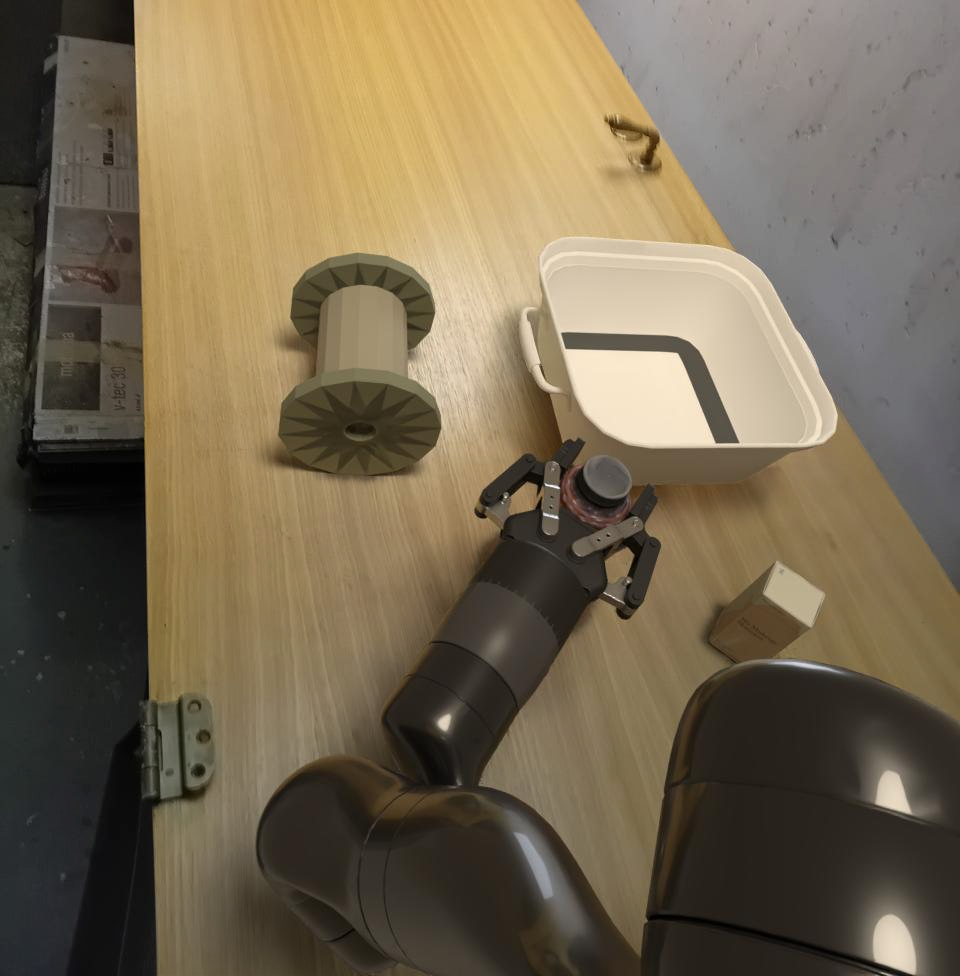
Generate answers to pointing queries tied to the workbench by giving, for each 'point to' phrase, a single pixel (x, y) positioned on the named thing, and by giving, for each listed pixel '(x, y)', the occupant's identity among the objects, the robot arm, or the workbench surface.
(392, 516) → the workbench surface
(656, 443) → the pot
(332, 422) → the spool
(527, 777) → the workbench surface
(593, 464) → the supplement bottle
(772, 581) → the box
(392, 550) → the workbench surface
